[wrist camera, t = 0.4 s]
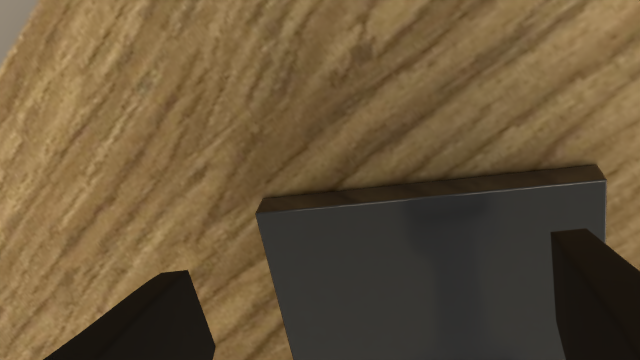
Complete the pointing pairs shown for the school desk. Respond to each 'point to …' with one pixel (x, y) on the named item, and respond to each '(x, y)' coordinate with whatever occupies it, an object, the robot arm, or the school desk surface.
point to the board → (427, 265)
